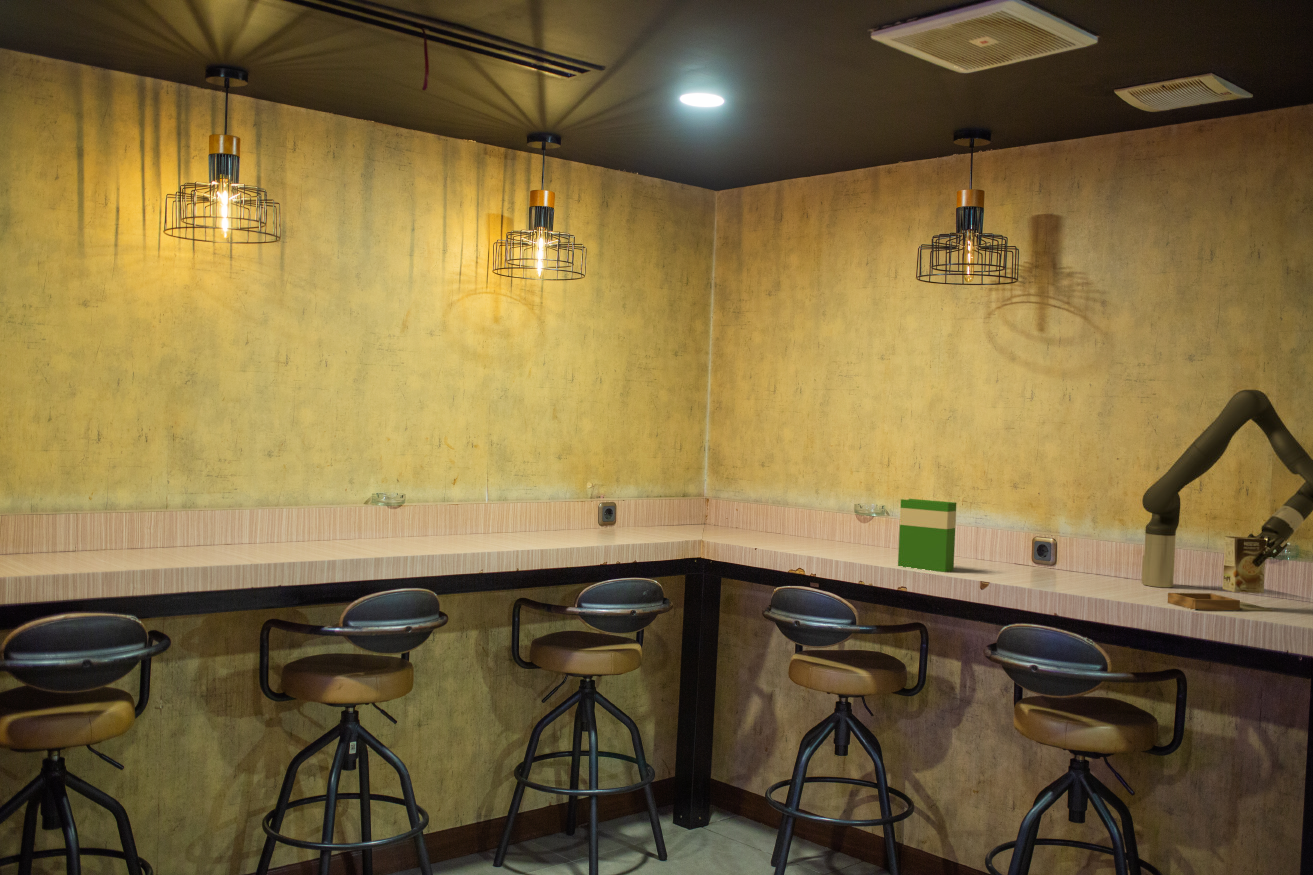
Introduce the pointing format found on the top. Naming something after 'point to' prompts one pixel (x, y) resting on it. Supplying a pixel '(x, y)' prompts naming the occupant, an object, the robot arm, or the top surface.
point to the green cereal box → (927, 535)
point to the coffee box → (1243, 565)
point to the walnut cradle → (1203, 601)
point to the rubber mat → (1252, 607)
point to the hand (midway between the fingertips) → (1246, 562)
